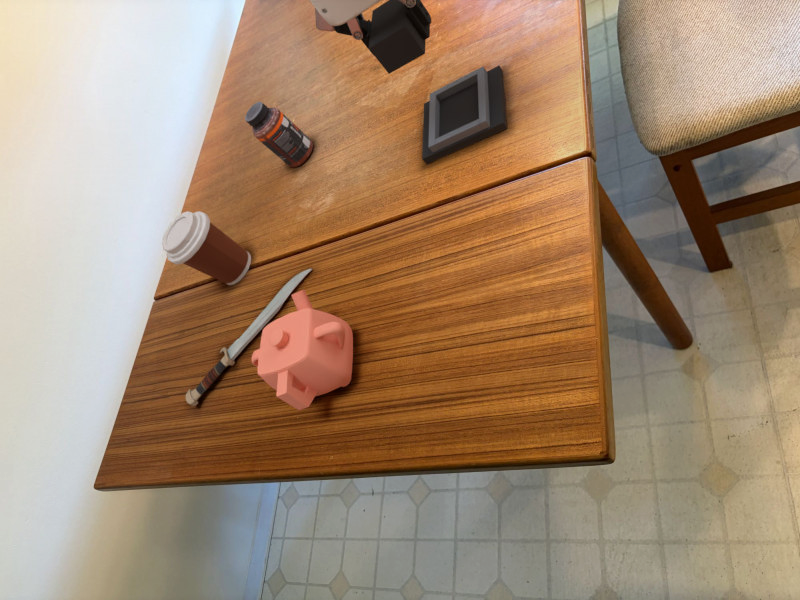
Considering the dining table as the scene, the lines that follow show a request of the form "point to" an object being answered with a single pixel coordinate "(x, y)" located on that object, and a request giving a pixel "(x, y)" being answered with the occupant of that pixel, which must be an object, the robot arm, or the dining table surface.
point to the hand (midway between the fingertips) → (405, 42)
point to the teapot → (305, 353)
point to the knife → (244, 339)
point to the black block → (394, 36)
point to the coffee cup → (205, 248)
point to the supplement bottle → (279, 134)
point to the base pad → (463, 113)
